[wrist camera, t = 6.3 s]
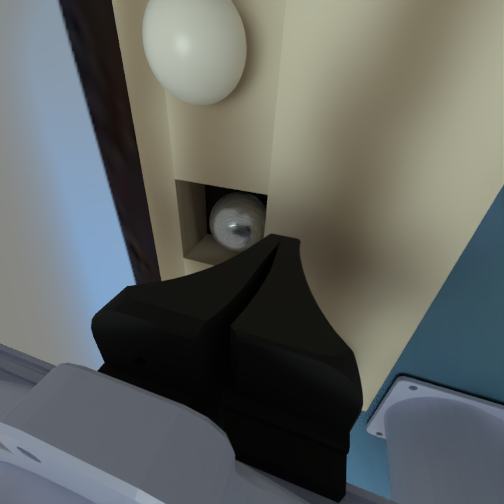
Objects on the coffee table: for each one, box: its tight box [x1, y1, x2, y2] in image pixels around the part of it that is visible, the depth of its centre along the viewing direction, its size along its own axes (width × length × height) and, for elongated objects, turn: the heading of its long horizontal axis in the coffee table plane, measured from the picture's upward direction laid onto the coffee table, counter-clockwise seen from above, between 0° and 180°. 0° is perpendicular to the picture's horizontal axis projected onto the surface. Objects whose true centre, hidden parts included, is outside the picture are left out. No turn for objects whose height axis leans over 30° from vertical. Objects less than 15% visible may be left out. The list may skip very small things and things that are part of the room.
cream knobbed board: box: [112, 0, 504, 412], centre depth 13 cm, size 14×22×3 cm, turn 177°
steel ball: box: [209, 192, 266, 252], centre depth 14 cm, size 3×3×3 cm
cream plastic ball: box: [142, 0, 247, 105], centre depth 8 cm, size 3×3×3 cm
